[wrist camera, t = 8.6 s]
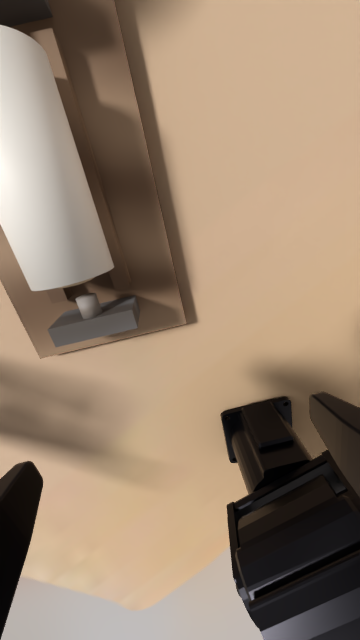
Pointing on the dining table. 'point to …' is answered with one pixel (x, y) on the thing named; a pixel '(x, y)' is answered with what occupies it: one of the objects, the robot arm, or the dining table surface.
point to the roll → (43, 175)
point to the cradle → (98, 186)
